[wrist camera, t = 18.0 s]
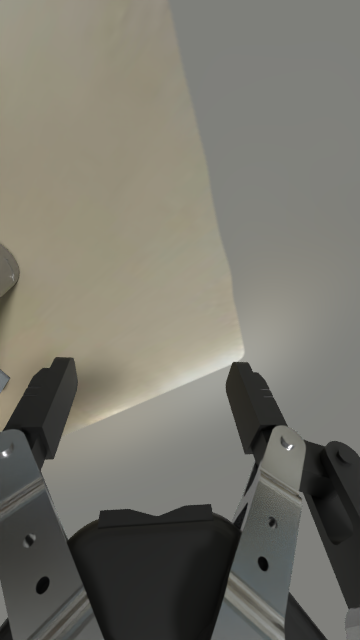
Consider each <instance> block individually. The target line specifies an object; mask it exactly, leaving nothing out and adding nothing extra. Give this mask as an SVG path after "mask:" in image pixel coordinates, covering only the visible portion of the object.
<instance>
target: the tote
mask: <svg viewBox="0 0 360 640" xmlns="http://www.w3.org/2000/svg"><path fill="white" fill-rule="evenodd" d="M9 379H10V378H9V377H8V376H7V375H6V374H5V373H4V372H3V371H1V370H0V393H1V391H2V389H3V388H4V386H5V385H6V383H7V382H8V380H9Z"/></svg>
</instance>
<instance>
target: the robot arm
mask: <svg viewBox="0 0 360 640" xmlns="http://www.w3.org/2000/svg"><path fill="white" fill-rule="evenodd" d="M18 278H19V267H18V264H17V262H16V260H15V258H14V257H13V255H12V254H11V253H10V252H9V251H8V249H6V248H5V247H4V246H3V245H2V244H0V298H1V297H2V296H3V295H4V294H5V293H6V292H7V291H8V290H9V289H10V288H11V287H13V286H14V285H15V283H16V282H17V280H18ZM77 385H78V379H77V373H76V368H75V362H74V359H73V358H66V357H56V358H55V359H54V361H53V363H52V365H51V367H50V368H42V369H41V370H40V371H39V372H38V373H37V374H36V375H34V376H33V378H32V380H31V381H30V383H29V385H28V388H27V389H26V390H25V392H24V394H23V396H22V398H21V400H20V401H19V403H18V405H17V407H16V409H15V410H14V412H13V414H12V416H11V418H10V419H9V421H8V423H7V425H6V427H5V428H4V430H3V431H2V432H0V581H1V586H2V590H3V595H4V600H5V605H6V609H7V614H8V618H7V619H6V620H5V622H4V623H3V624H2V626H1V627H0V640H327V639H326V637H325V636H324V635H323V634H322V632H321V631H320V630H319V629H318V627H317V626H316V625H315V624H314V622H313V621H312V620H311V619H310V617H309V616H308V615H307V614H306V612H305V611H304V610H303V609H302V607H301V606H300V605H299V603H298V602H297V601H296V600H295V598H294V597H293V596H292V595H291V593H290V592H289V587H290V580H291V574H292V567H293V561H294V555H295V548H296V542H297V535H298V529H299V522H300V516H301V509H302V499H301V497H299V491H300V492H303V494H304V496H305V499H306V501H307V504H308V506H309V509H310V512H311V514H312V517H313V519H314V522H315V524H316V527H317V529H318V532H319V535H320V537H321V540H322V542H323V545H324V547H325V550H326V552H327V555H328V558H329V560H330V563H331V565H332V568H333V570H334V573H335V575H336V578H337V580H338V583H339V586H340V588H341V591H342V593H343V596H344V598H345V601H346V604H347V606H348V608H349V610H348V612H347V614H346V618H345V629H346V635H347V640H360V457H359V456H358V454H357V453H356V452H355V451H354V450H352V449H351V448H350V447H349V446H347V445H346V444H344V443H341V442H338V441H332V442H329V443H328V444H327V445H326V446H321V445H318V444H315V443H311V442H308V441H306V440H303V438H302V437H301V436H300V435H299V434H298V433H297V432H296V431H295V430H293V429H292V428H290V427H288V426H287V424H286V422H285V420H284V417H283V415H282V413H281V411H280V409H279V407H278V405H277V403H276V401H275V399H274V398H273V395H272V393H271V391H270V390H269V387H268V385H267V383H266V381H265V380H264V379H263V377H262V376H261V375H260V374H259V373H256V372H253V371H252V369H251V367H250V365H249V363H248V362H233V363H232V366H231V369H230V372H229V375H228V378H227V381H226V393H227V396H228V399H229V403H230V406H231V410H232V413H233V416H234V419H235V422H236V426H237V429H238V433H239V436H240V439H241V443H242V446H243V449H244V453H245V454H253V455H254V458H255V462H254V464H253V466H252V470H251V472H250V475H249V478H248V481H247V484H246V486H245V489H244V492H243V495H242V498H241V500H240V503H239V505H238V507H237V509H236V512H235V514H234V517H233V519H232V522H230V521H229V520H228V519H226V518H224V517H223V516H221V515H218V514H216V513H213V512H212V508H211V504H205V505H188V506H183V507H181V508H178V509H175V510H173V511H170V512H168V513H166V514H163V515H160V516H153V515H149V514H146V513H142V512H138V511H134V510H130V509H123V510H122V509H121V510H104V511H100V515H99V519H98V520H95V521H93V522H91V523H89V524H87V525H86V526H84V527H83V528H81V529H80V530H79V531H77V532H76V533H75V534H74V535H73V536H72V537H71V538H70V539H69V540H68V538H67V535H66V533H65V531H64V528H63V525H62V523H61V521H60V518H59V516H58V513H57V511H56V508H55V506H54V503H53V501H52V498H51V496H50V493H49V491H48V488H47V485H46V483H45V481H44V478H43V476H42V473H41V468H42V466H43V463H44V460H45V459H54V456H55V453H56V451H57V448H58V445H59V441H60V439H61V436H62V433H63V430H64V427H65V424H66V421H67V418H68V415H69V412H70V409H71V406H72V403H73V400H74V397H75V394H76V391H77Z"/></svg>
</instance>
